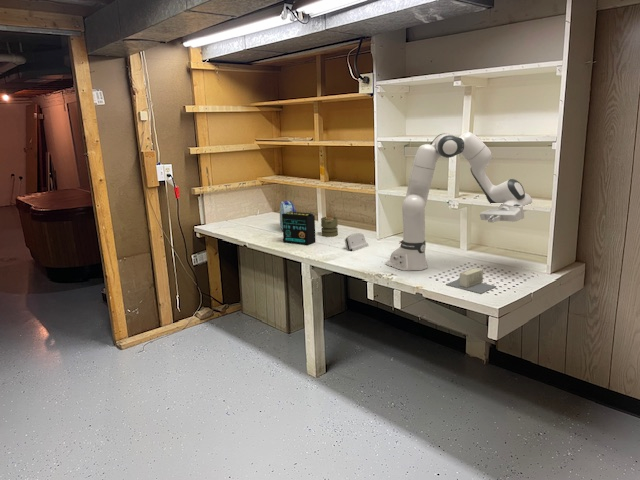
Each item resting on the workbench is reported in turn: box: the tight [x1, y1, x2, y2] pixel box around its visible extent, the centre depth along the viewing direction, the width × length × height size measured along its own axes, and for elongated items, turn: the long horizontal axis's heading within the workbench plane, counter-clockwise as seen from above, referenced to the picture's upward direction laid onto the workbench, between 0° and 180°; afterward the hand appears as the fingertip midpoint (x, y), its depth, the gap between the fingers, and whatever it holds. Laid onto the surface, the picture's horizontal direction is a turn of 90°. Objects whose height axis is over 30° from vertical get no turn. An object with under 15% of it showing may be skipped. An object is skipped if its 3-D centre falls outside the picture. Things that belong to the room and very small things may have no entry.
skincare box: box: [458, 267, 484, 288], centre depth 220 cm, size 6×4×12 cm
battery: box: [282, 211, 316, 246], centre depth 311 cm, size 19×10×20 cm, turn 59°
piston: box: [320, 216, 339, 238], centre depth 331 cm, size 11×12×11 cm
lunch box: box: [279, 200, 297, 231], centre depth 353 cm, size 26×11×21 cm, turn 10°
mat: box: [445, 278, 497, 295], centre depth 219 cm, size 18×13×1 cm
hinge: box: [344, 232, 369, 252], centre depth 295 cm, size 17×5×10 cm, turn 139°
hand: (490, 220), depth 227 cm, fingers closed
